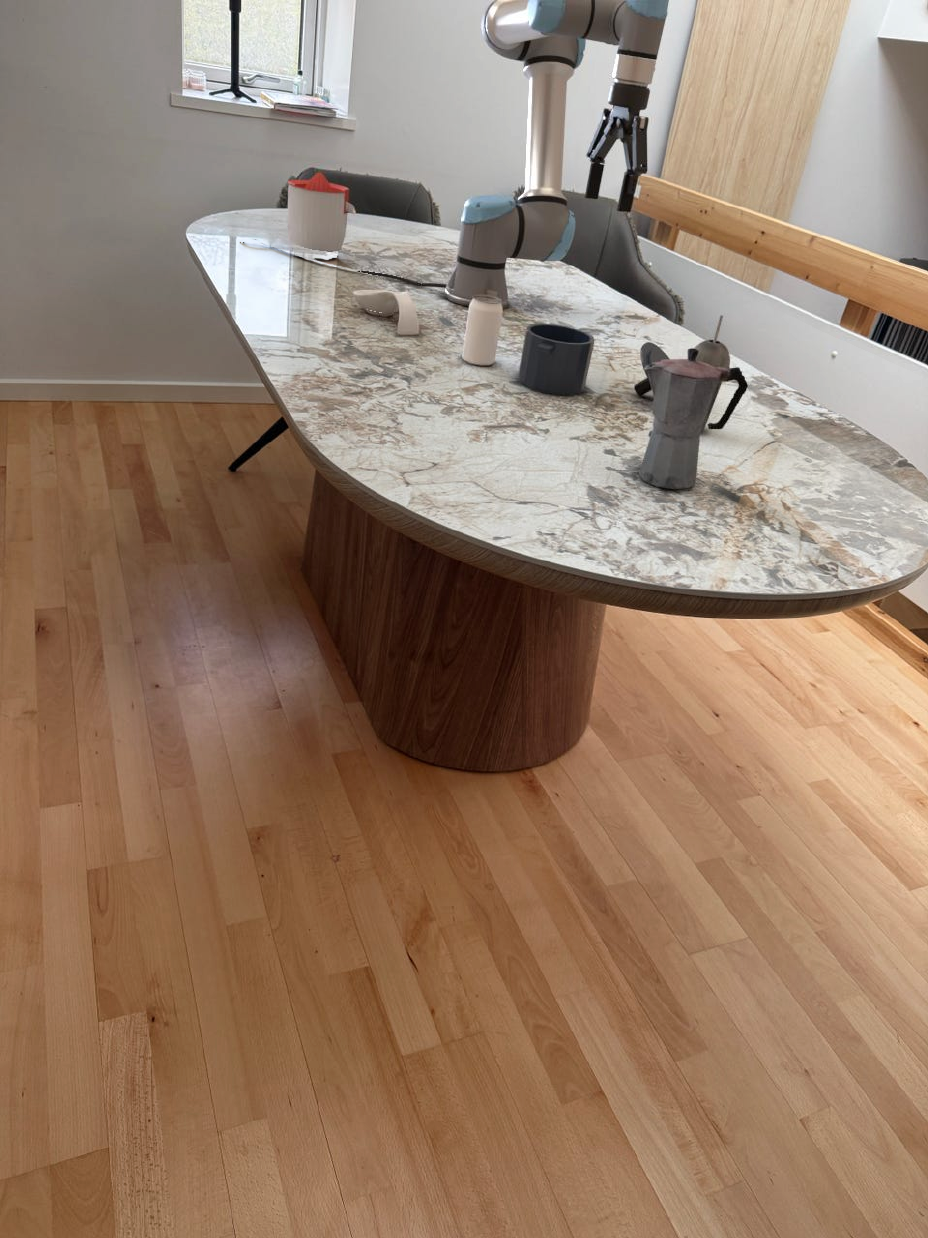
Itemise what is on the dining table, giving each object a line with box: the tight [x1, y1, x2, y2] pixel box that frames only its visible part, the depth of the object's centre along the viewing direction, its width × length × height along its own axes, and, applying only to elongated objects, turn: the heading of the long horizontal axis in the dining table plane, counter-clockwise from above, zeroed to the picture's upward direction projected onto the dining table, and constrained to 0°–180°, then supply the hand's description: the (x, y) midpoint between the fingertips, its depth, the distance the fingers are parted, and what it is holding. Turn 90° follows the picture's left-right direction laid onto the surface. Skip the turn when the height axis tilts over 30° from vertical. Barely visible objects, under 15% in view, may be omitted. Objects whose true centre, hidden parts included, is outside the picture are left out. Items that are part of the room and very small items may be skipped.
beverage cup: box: [694, 314, 731, 433], centre depth 160 cm, size 7×7×20 cm
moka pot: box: [638, 347, 749, 490], centre depth 137 cm, size 10×15×20 cm, turn 95°
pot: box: [517, 323, 595, 396], centre depth 173 cm, size 13×18×10 cm
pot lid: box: [634, 341, 670, 397], centre depth 175 cm, size 14×14×7 cm
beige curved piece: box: [352, 289, 420, 336], centre depth 197 cm, size 24×12×7 cm, turn 25°
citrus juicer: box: [286, 171, 357, 252], centre depth 237 cm, size 16×17×20 cm
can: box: [461, 295, 504, 367], centre depth 179 cm, size 6×6×12 cm
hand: (606, 204), depth 186 cm, fingers open, 13 cm apart
